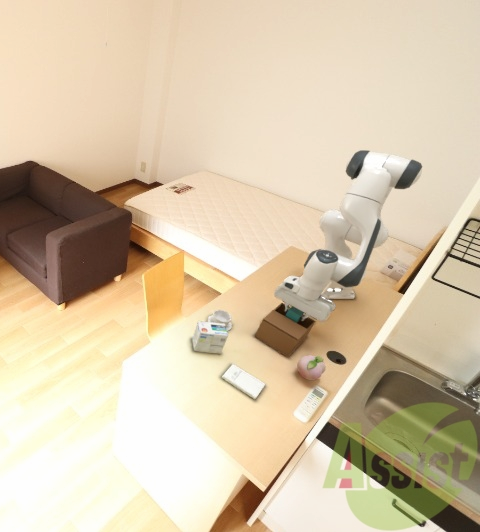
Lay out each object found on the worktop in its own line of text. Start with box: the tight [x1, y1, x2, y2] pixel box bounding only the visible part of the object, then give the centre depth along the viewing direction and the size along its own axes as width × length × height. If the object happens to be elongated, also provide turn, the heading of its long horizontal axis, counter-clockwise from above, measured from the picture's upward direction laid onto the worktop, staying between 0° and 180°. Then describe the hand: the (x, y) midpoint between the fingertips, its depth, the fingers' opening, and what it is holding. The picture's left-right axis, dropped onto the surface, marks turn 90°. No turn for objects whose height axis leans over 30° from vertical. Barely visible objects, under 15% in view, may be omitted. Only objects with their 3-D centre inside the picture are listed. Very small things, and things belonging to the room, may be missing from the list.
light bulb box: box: [191, 320, 229, 355], centre depth 138 cm, size 11×7×11 cm, turn 84°
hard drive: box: [221, 363, 266, 400], centre depth 128 cm, size 2×8×12 cm
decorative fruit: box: [296, 354, 326, 381], centre depth 129 cm, size 9×8×10 cm
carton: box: [254, 302, 317, 358], centre depth 144 cm, size 17×14×10 cm
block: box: [285, 306, 305, 323], centre depth 143 cm, size 5×5×5 cm
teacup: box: [207, 309, 233, 332], centre depth 151 cm, size 10×10×5 cm
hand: (294, 315), depth 143 cm, fingers closed on block, 4 cm apart
